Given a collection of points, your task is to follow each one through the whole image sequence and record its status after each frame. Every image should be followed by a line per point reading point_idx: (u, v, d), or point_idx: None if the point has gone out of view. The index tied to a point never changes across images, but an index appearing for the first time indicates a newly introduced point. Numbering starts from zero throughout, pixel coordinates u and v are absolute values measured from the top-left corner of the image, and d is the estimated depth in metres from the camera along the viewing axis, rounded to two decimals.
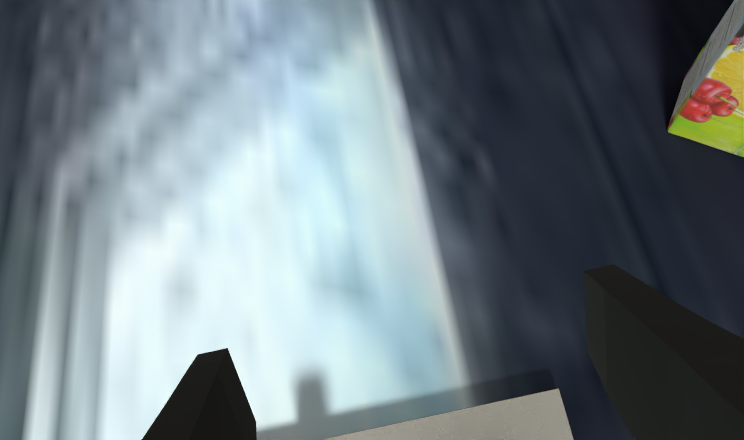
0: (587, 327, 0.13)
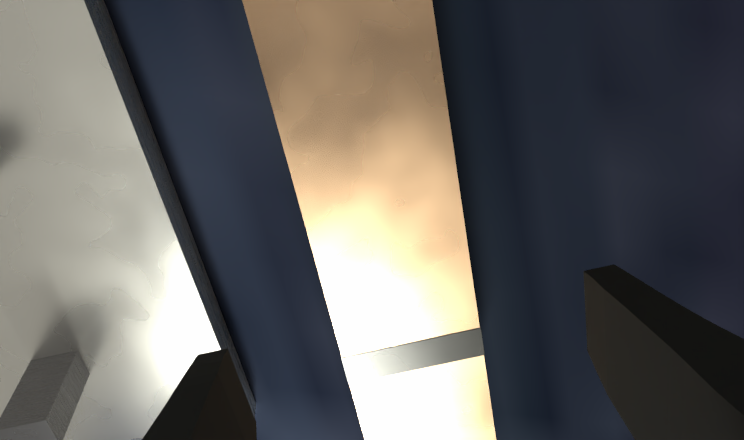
0: (587, 327, 0.13)
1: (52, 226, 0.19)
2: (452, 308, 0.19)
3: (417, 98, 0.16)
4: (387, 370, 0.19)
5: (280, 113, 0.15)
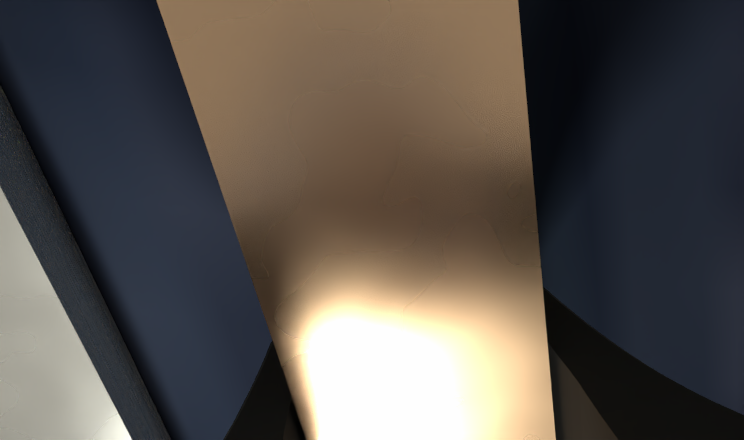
0: None
1: None
2: None
3: (492, 254, 0.09)
4: None
5: (263, 282, 0.09)
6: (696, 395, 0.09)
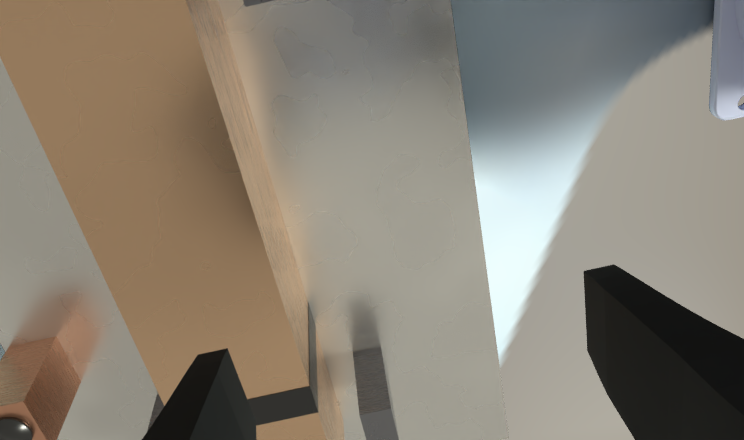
0: (587, 327, 0.13)
1: None
2: (277, 367, 0.18)
3: (207, 164, 0.15)
4: None
5: (64, 180, 0.15)
6: None
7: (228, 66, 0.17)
